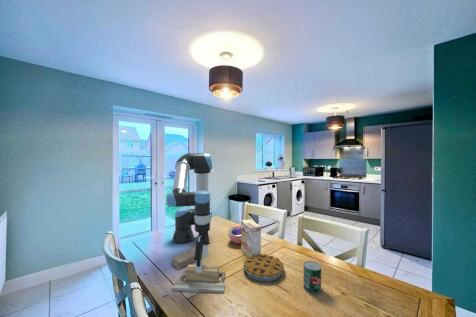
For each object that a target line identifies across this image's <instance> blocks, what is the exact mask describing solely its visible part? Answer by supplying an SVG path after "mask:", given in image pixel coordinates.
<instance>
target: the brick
mask: <svg viewBox="0 0 476 317" xmlns="http://www.w3.org/2000/svg"><path fill="white" fill-rule="evenodd" d="M195 250H196V247H193V248H190V249H188V250H187V251H184V252H182V253H179V254H177V255H175V256H172V258H171V265H172V266H173V267H175V268H176V269H177V270H181V269H183V268H185V267H186V266H188V265H192V264H193V263H196V260H194V258H195ZM201 258H202V259H203V256H202V257H201Z"/></svg>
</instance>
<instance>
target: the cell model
mask: <svg viewBox="0 0 476 317" xmlns="http://www.w3.org/2000/svg"><path fill="white" fill-rule="evenodd" d="M226 233H227V236H228V238H229V239H230V241H231V242H233V243H234V244H240V245H241V226H240V225H239V226H233V227H229V230H228V231H227V232H226Z"/></svg>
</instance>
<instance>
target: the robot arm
mask: <svg viewBox="0 0 476 317" xmlns="http://www.w3.org/2000/svg"><path fill="white" fill-rule="evenodd" d="M174 169H175V175H174V179H173V180H174V181H173V185H172V186H173V187H172V190H171V192H168V193H167V194H166V206H167V207H170V208H177V209H176V210H175V213H174V214H175V215H174V218H175V222H174V224H175V227H174V229H175V230H174V233H173V236H172V242H173V243H175V244H189V243H190V242H193V241H194V240H195V239H196V242H195V248H196V250H195V258H194V260H196V261H195V265H196V272H197V273H202V265H203V258H209V245H210V237H209V231H210V230H211V220H212V217H213V208H212V207H211V193H210V192H209V174H210V173H211V171H212V170H213V161H212V156H211V153H206V152H200V153H199V152H197V153H194V152H193V153H185V154H183V155H182V156H180V157H179V158H178V159H177V161H176V162H175V166H174ZM190 170H191V171H192V170H193V173H194V174H195V176H196V178H195V181H196V182H195V183H196V185H195V186H196V189H195V191H187V188H188V178H189V177H188V175H189V171H190ZM178 207H179V208H178ZM192 207H194V208H192ZM192 226H194V231H195V232H196V233H197V236H196V238H195V235H194V231H193V229H192V228H193V227H192ZM201 257H202V258H201Z"/></svg>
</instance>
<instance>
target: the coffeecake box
mask: <svg viewBox="0 0 476 317" xmlns="http://www.w3.org/2000/svg"><path fill="white" fill-rule="evenodd" d="M240 223H241V224H240V225H241V243H240V246H241V247H240V250H241V251H242V252H243V253H244V254H245V255H246V256H247V258H249V257H251V256H252V255H257V254H260V255H262V226H261V225H260V224H258V223H256V222H255V221H254V220H253V219H242V220H241V221H240Z"/></svg>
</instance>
